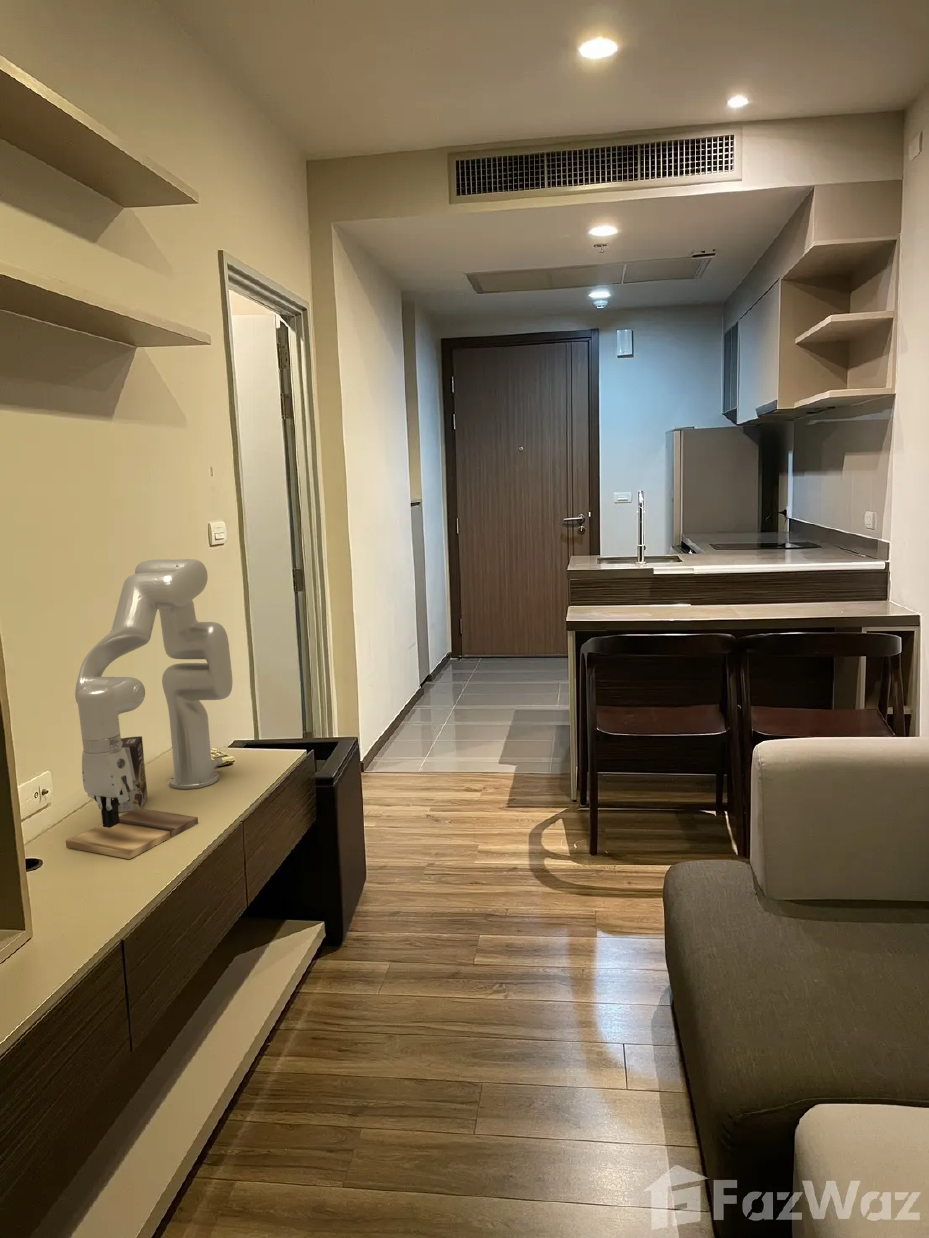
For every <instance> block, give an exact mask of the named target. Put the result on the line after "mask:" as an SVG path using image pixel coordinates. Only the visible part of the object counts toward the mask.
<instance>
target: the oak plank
mask: <svg viewBox="0 0 929 1238" xmlns="http://www.w3.org/2000/svg"><path fill="white" fill-rule="evenodd" d="M170 839H171V837H170V832H169V831H163V830H157V829H151V828H145V827H138V826H132V825H126V824H120V823H118V824H116V825H115V826H113V827H111V828H107V827H103V823H102V824H100V825H97V826H95V827H93V828H90V829H89V830H86V831H84V832H82V833H80V834H76V836H73V837H71V838H67V839H65V848H69V849H73V850H79V851H84V852H89V853H95V854H101V855H105V856H111V857H117V858H121V859H122V858H123V859H127V860H131V859H133V858H134V857H137V856H138V855H140V854H142V853H144V852H146V851H148V850H150V849H152V848H154V847H155V845H156V846H159V844H162V843H164V842H166V841H168V840H170ZM165 840H166V841H165ZM163 841H164V842H163Z"/></svg>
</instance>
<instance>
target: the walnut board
mask: <svg viewBox="0 0 929 1238" xmlns="http://www.w3.org/2000/svg"><path fill="white" fill-rule="evenodd" d="M119 820H120V822H119V823H120V824H126V825H132V826H138V827H145V828H151V829H157V830H163V831H169V832H170V838H173V837H175V836H177V835H179V834H181V833H183V832H185V831H186V829H187V830H189V829H191V828H193V827H194V826H196V825H197V824H198V825H199V817H198V816H192V815H186V814H179V813H173V812H167V811H161V810H155V809H154V810H153V809H147V808H143V807H142V808H136V809H134V810H132V811H127V812H126V813H124V814H122V815H119ZM195 824H196V825H195ZM193 825H194V826H193ZM184 830H185V831H184Z"/></svg>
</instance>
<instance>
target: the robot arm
mask: <svg viewBox="0 0 929 1238" xmlns="http://www.w3.org/2000/svg"><path fill="white" fill-rule="evenodd" d="M208 575H209V574H208V570H207V568H206V566H205V564H204V563H203V562H202V561H200V560H198V559H193V558H191V559H190V558H189V559H188V558H186V559H183V558H181V559H170V558H169V559H150V560H145V561H141V562H139V563H138V564H137V565H136V566H135V570H134V574H131V575H129V576H128V577H126V579H125V580H124V581H123V585H122V588H121V592H120V595H119V600H118V603H117V607H116V612H115V615H114V618H113V623H112V626H111V630H110V631H109V632H108V634H107V635H105V636H104V637H103V638H102V639H100V640H99V641H98V642H97V643H96V644H95V645H94V646H93V648H92V649H90V651H89V652H88V653H87V655H86V656H85V657H84V659H83V661H82V663H81V666H80V669H79V672H78V675H77V679H76V680H77V681H76V685H75V694H74V695H75V702H76V704H77V707H78V715H79V717H78V718H79V724H80V725H79V726H80V732H81V740H82V749H83V750H82V753H81V754H82V755H81V776H82V784H83V789H84V792H86V793H87V796H88V798H91V799H93V800H94V802H95V801H96V804H97V807H98V809H99V810H100V811H101V812H100V813H101V821H102V824H103V827H107V828H111V827H113V826H115V825H116V824H118V823H119V822H120V820H119V816H120V812H119V811H118V806H120V803H124V802H126V801H128V800H129V796H128V793H127V792H130V791H132V790H133V782H132V775H131V770H130V765H129V761H128V757H127V754H126V752H125V749H124V748H122V745H123V742H122V741H121V729H120V728H121V727H120V719H119V715H122V714H124V713H129V712H131V711H132V712H133V711H134V710H137V708H139V707H140V706H141V705H142V703H143V702H144V700H145V697H146V688H145V686H144V684H143V682H142V681H140V680H139V679H138V678H135V677H130V676H103V673H104V672H105V670H106V669H107V667H109V666H110V664H111V663H113V662H115V661H116V660H117V659H118V658H120V657H123V656H124V655H127V654H129V653H130V652H133V651H136V650H137V649H139V648H141V647H144V646H145V645H147V644H148V643H149V642H150V640H151V637H152V632H153V628H154V624H155V621H156V620H155V619H156V615H157V611H158V612H159V617H160V618H159V619H160V626H161V631H162V632H161V634H162V640H163V647H164V651H165V654H166V655H167V656H168V657H169V658H171V659H175V660H205V661H206V662H181V663H175V664H172V665H170V666H168V667H167V668H166V669H165V670H164V672H163V673H162V677H161V683H162V690H163V693H164V696H165V699H166V704H167V708H168V715H169V716H168V717H169V718H168V719H169V726H170V737H171V738H170V740H171V750H172V751H171V752H172V759H173V760H172V761H173V774H174V775H173V776H171V777H170V778H169V779H168V785H169V787H171V788H173V789H177V790H178V789H179V790H191V789H199V788H204V787H207V786H210V785H212V784H215V783H216V782H217V781H219V778H220V777H219V776H220V775H219V773H218V772H217V771H216V770H215V769H216V767H218V766H221V765H223V763H224V760H223V758H222V757H217V758H215V759H212V752H211V750H212V749H211V740H210V726H209V716H208V715H209V714H208V711H207V710H206V707H205V706H204V704H203V703H202V702H201V701H220V700H224V699H227V698H228V697H229V696H230V695H231V692H232V690H233V672H232V671H233V670H232V662H231V661H232V660H231V652H230V644H229V637H228V634H227V631H226V629H225V628H224V626H223V625H222V624H220V623H219V622H215V621H198V620H197V617H196V610H195V604H194V601H193V600H194V599H195V598H196V597H198V596H199V595H200V594H201V593H202V592H203V591H204V589H205V588H206V586H207V584H208Z"/></svg>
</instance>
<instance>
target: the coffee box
mask: <svg viewBox="0 0 929 1238" xmlns="http://www.w3.org/2000/svg"><path fill="white" fill-rule="evenodd" d="M121 741H122V742H123V745H122V748H124V749H125V752H126V754H127V757H128V761H129V765H130V770H131V775H132V782H133V790H132V791H130V792H127V793H128V796H129V800H128V801H126V802H124V803H120V806H118V811H119V813H123V812H124V813H125V812H126V813H128V812H130V811H132V810H134V809H136V808H142V809H143V807H144V805H145V803H146V802H147V800H148V787H147V777H146V776H147V775H146V764H145V754H144V743H143V736H131V737H122V738H121Z"/></svg>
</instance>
